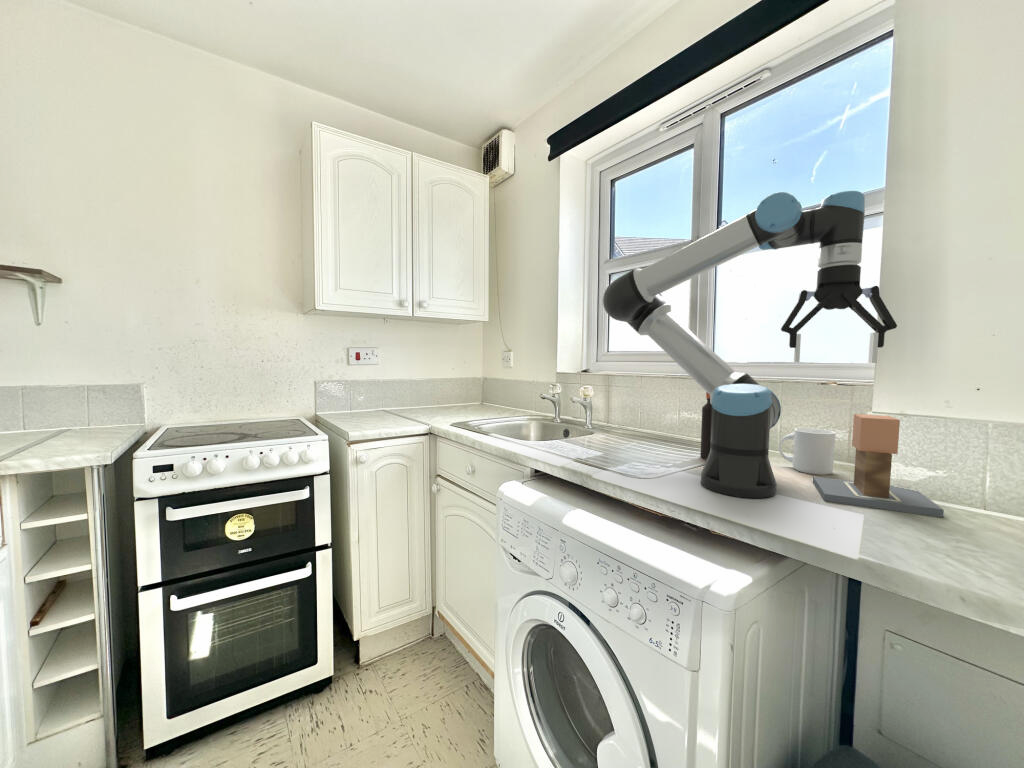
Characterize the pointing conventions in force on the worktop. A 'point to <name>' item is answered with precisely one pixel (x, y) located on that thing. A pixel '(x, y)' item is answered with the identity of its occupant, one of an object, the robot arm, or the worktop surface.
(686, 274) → the robot arm
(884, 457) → the tall cardboard box
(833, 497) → the baseboard
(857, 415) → the cap cube
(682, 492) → the worktop surface
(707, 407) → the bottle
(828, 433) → the mug
